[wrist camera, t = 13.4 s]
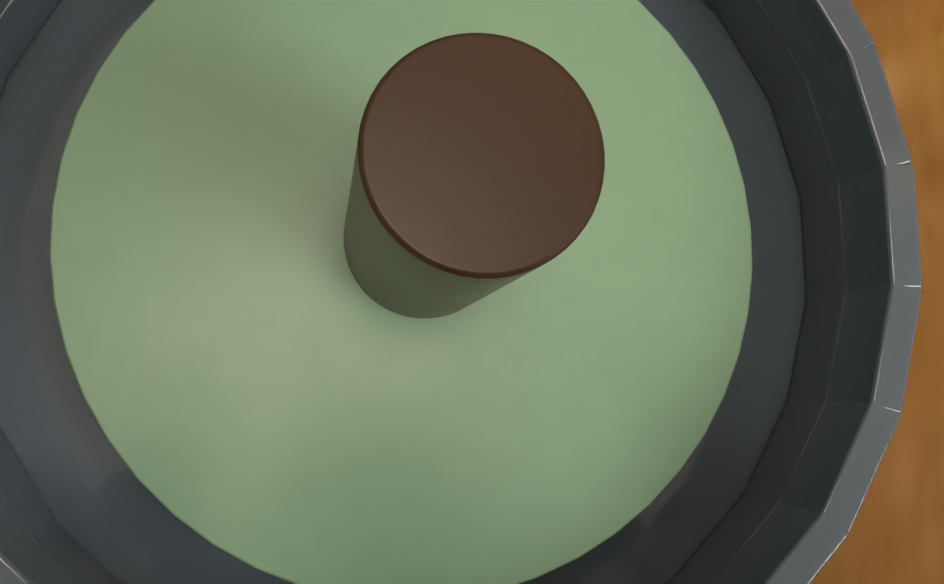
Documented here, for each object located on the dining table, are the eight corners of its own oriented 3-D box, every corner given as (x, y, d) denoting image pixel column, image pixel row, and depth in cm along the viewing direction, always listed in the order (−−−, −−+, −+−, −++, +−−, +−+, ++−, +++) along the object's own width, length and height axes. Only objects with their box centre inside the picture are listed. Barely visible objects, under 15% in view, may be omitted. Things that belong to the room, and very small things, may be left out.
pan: (822, 659, 19) (956, 732, 15) (-57, 730, 16) (-181, 842, 12) (777, -112, 20) (885, -231, 16) (-26, -171, 18) (-126, -332, 14)
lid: (622, 672, 17) (838, 877, 10) (-49, 464, 15) (-359, 531, 8) (797, 72, 19) (1083, -116, 12) (215, -167, 17) (143, -546, 10)
